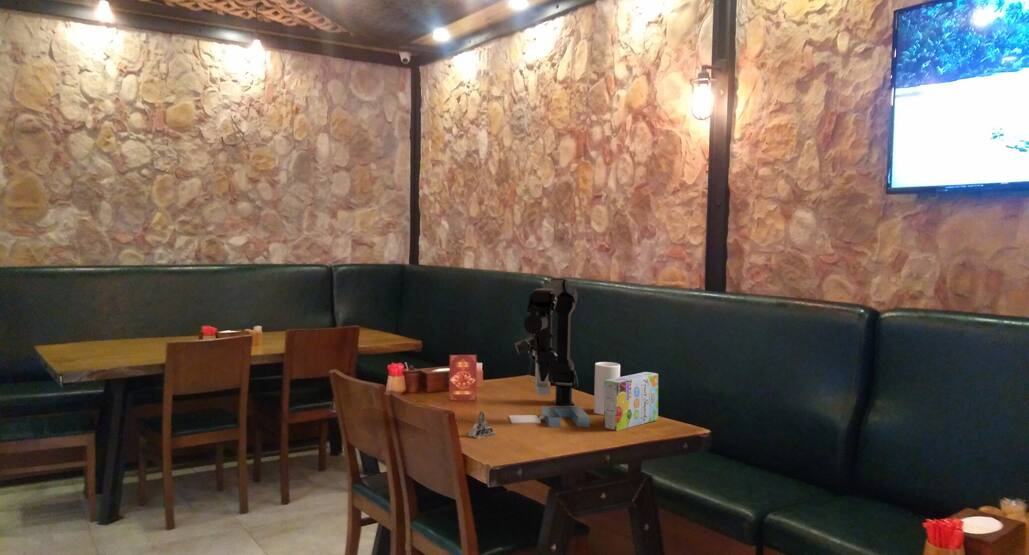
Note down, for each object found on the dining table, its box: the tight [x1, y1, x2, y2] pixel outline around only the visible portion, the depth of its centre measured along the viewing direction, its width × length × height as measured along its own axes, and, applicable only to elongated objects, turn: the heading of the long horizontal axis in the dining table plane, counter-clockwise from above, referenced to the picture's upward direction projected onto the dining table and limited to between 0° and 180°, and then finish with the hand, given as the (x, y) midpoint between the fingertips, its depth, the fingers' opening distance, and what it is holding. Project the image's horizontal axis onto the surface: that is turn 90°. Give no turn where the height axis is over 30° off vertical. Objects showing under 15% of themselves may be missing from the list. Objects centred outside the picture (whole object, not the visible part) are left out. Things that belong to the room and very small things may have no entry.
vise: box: [538, 405, 591, 428], centre depth 248 cm, size 15×14×3 cm
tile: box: [508, 414, 542, 424], centre depth 248 cm, size 9×9×1 cm
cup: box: [593, 361, 621, 416], centre depth 261 cm, size 8×8×16 cm
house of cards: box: [467, 410, 496, 439], centre depth 230 cm, size 9×9×8 cm
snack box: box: [603, 371, 659, 432], centre depth 245 cm, size 21×6×15 cm, turn 135°
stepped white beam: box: [534, 362, 551, 396], centre depth 245 cm, size 7×4×9 cm, turn 8°
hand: (541, 380), depth 246 cm, fingers closed on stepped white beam, 3 cm apart
